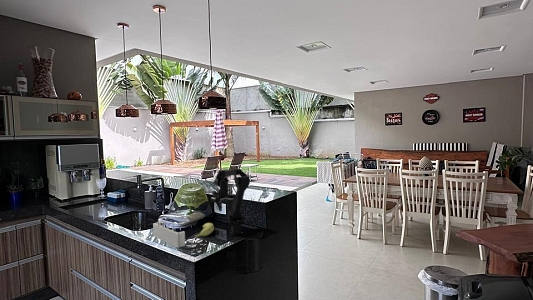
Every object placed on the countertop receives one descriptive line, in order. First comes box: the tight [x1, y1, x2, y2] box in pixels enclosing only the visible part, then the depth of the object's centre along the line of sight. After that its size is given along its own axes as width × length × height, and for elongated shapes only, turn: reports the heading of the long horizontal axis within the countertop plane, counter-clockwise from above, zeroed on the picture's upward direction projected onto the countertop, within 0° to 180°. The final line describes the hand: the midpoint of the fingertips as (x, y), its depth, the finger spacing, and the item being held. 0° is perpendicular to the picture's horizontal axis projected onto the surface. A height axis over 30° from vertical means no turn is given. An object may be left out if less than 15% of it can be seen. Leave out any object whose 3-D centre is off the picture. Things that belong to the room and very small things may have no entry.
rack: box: [152, 220, 186, 249], centre depth 176 cm, size 30×5×11 cm, turn 46°
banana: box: [194, 222, 215, 238], centre depth 190 cm, size 14×6×20 cm
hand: (224, 210), depth 201 cm, fingers open, 7 cm apart
